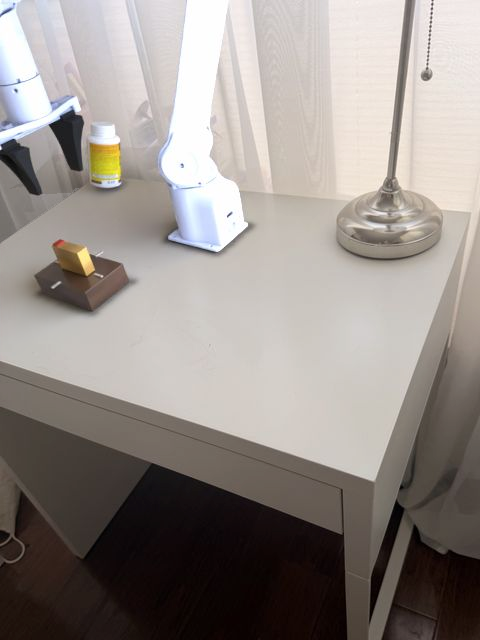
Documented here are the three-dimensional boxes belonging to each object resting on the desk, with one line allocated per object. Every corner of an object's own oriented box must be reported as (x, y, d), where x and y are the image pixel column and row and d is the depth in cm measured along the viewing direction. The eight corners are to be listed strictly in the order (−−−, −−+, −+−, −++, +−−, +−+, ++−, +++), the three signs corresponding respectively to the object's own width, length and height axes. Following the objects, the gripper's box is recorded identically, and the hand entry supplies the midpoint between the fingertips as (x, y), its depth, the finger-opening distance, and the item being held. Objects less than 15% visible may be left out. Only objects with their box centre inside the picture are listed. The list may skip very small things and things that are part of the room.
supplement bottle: (126, 187, 96) (124, 127, 91) (95, 190, 94) (91, 127, 88) (115, 178, 100) (112, 119, 95) (85, 180, 97) (80, 120, 92)
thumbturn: (95, 269, 71) (85, 245, 69) (86, 276, 71) (76, 251, 68) (69, 262, 74) (59, 238, 71) (61, 268, 73) (50, 244, 70)
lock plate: (134, 277, 75) (128, 258, 72) (86, 316, 69) (78, 296, 67) (85, 262, 79) (77, 243, 77) (36, 297, 74) (26, 278, 72)
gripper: (40, 59, 74) (76, 156, 83) (-54, 96, 65) (-3, 200, 74) (75, 61, 70) (108, 162, 79) (-19, 100, 62) (30, 208, 71)
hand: (57, 181), depth 77 cm, fingers open, 7 cm apart
